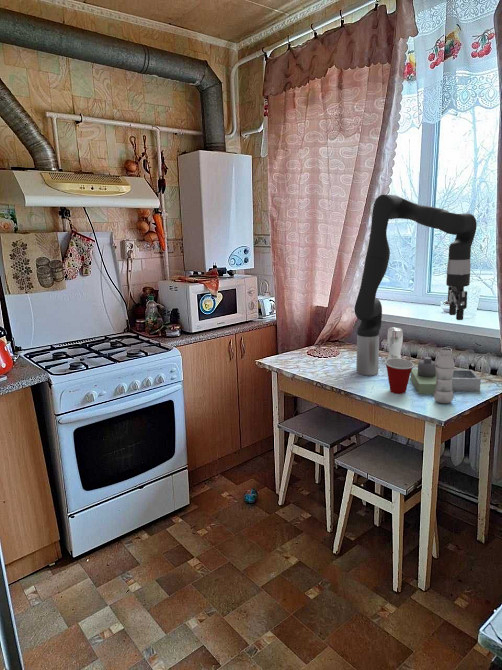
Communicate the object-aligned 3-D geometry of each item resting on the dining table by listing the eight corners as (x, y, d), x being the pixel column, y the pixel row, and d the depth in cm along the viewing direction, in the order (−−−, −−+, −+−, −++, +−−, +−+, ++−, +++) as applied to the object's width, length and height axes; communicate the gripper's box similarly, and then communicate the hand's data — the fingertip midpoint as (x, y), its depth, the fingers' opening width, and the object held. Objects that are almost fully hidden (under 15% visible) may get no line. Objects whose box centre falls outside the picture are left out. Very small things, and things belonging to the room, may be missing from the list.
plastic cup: (403, 398, 172) (404, 368, 169) (378, 391, 180) (379, 362, 177) (418, 391, 179) (419, 361, 176) (393, 384, 187) (394, 356, 184)
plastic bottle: (454, 406, 163) (458, 352, 158) (434, 405, 165) (437, 351, 160) (450, 399, 169) (454, 347, 165) (431, 398, 171) (434, 346, 166)
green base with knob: (418, 393, 176) (419, 366, 173) (410, 378, 193) (411, 352, 190) (451, 394, 174) (453, 366, 171) (440, 378, 191) (441, 352, 188)
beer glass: (403, 358, 219) (404, 328, 216) (399, 362, 214) (400, 331, 210) (389, 356, 223) (389, 326, 219) (384, 360, 217) (385, 330, 214)
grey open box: (449, 390, 177) (450, 378, 176) (442, 381, 188) (443, 369, 186) (479, 391, 175) (480, 378, 174) (471, 381, 186) (472, 369, 185)
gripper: (441, 270, 169) (439, 313, 172) (453, 274, 155) (450, 321, 159) (463, 269, 167) (460, 313, 171) (476, 274, 154) (473, 321, 158)
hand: (455, 317), depth 165 cm, fingers open, 8 cm apart
